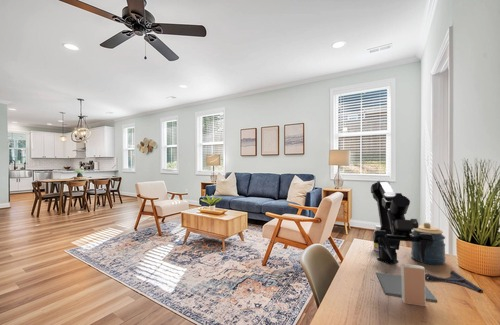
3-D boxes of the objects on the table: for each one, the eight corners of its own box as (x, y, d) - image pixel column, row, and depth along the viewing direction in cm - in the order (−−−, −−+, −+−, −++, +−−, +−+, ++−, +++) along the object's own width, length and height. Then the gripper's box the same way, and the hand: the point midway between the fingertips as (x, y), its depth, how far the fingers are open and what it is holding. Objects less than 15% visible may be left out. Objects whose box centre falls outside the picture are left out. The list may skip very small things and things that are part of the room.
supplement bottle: (370, 249, 124) (370, 225, 124) (379, 247, 126) (379, 223, 126) (382, 253, 117) (381, 228, 118) (391, 251, 120) (390, 226, 120)
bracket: (415, 272, 98) (414, 266, 98) (454, 275, 95) (454, 268, 95) (435, 290, 84) (435, 283, 84) (483, 294, 81) (483, 286, 81)
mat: (376, 273, 96) (376, 272, 96) (419, 279, 91) (418, 277, 91) (385, 294, 81) (385, 292, 81) (437, 301, 76) (437, 300, 76)
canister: (428, 266, 102) (427, 226, 102) (404, 255, 115) (403, 220, 115) (453, 264, 104) (452, 225, 104) (427, 253, 117) (426, 218, 117)
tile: (401, 299, 77) (401, 263, 77) (423, 302, 75) (422, 266, 76) (404, 303, 75) (403, 266, 75) (426, 306, 73) (425, 269, 73)
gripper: (373, 208, 89) (380, 247, 78) (431, 211, 83) (447, 253, 72) (370, 224, 96) (376, 261, 86) (423, 228, 90) (436, 268, 80)
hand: (407, 260), depth 81 cm, fingers open, 9 cm apart
